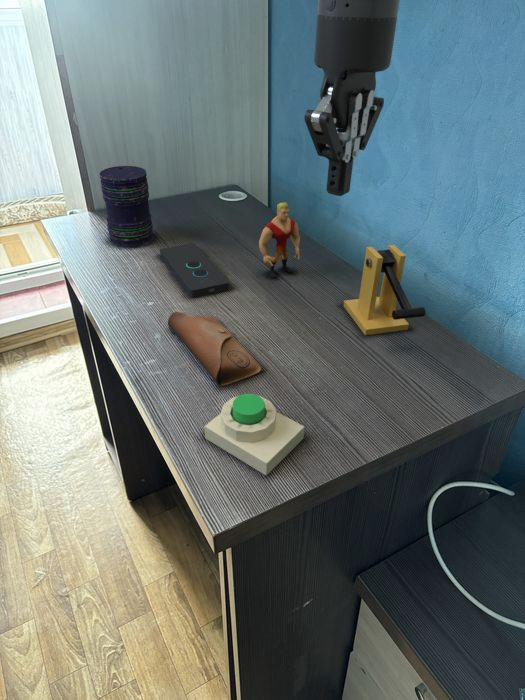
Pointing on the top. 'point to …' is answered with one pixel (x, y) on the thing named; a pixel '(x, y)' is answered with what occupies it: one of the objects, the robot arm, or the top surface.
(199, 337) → the sunglasses case
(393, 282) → the switch lever
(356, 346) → the top surface
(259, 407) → the light button
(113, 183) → the storage jar
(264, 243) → the action figure
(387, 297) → the lever bracket
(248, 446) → the switch box
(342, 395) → the top surface
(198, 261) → the smart home device
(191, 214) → the top surface
